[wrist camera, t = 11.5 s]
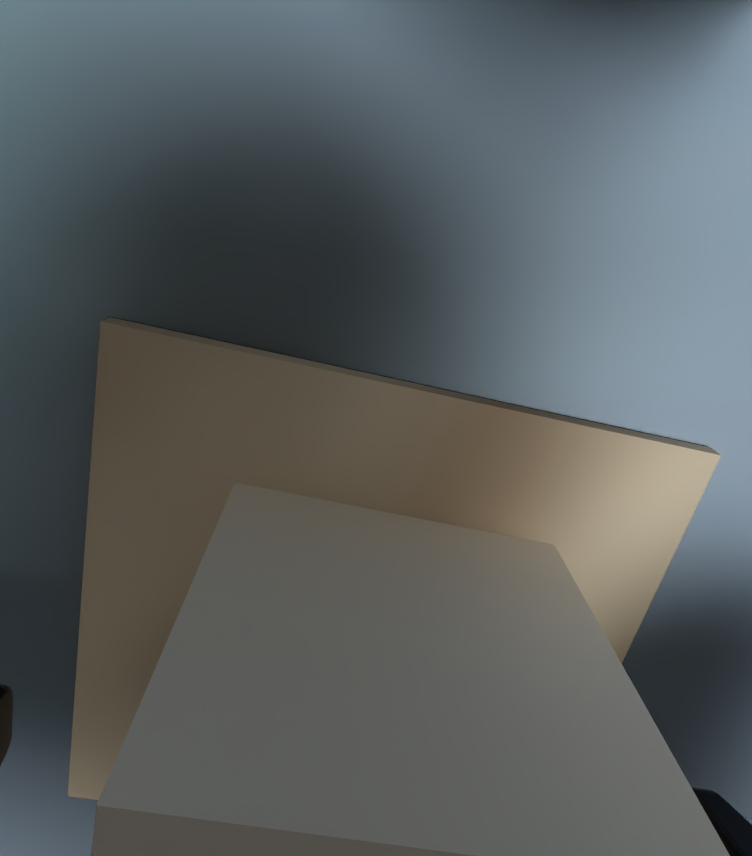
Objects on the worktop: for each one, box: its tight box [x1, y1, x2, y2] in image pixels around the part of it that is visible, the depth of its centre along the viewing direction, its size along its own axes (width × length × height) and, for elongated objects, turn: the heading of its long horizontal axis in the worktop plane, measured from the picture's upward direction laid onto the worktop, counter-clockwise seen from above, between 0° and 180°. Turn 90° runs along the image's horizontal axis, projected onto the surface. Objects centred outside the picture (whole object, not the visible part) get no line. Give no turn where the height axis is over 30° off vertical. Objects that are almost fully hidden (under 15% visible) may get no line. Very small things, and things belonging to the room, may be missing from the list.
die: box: [92, 482, 730, 856], centre depth 8 cm, size 5×5×5 cm
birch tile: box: [68, 317, 721, 800], centre depth 10 cm, size 9×9×1 cm
